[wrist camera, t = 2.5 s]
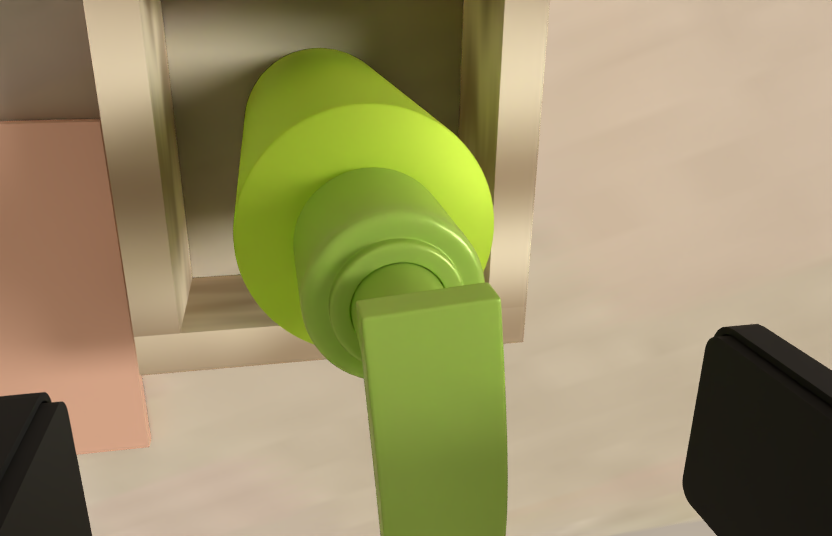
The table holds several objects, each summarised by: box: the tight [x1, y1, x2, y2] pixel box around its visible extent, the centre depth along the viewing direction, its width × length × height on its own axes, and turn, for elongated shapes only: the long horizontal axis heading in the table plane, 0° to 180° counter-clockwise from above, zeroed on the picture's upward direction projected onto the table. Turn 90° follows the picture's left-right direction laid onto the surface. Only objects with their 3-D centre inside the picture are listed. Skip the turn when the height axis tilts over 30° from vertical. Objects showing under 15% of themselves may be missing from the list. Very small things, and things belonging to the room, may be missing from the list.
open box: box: [83, 0, 550, 375], centre depth 26 cm, size 14×14×5 cm
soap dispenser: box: [233, 48, 508, 536], centre depth 19 cm, size 6×7×20 cm
